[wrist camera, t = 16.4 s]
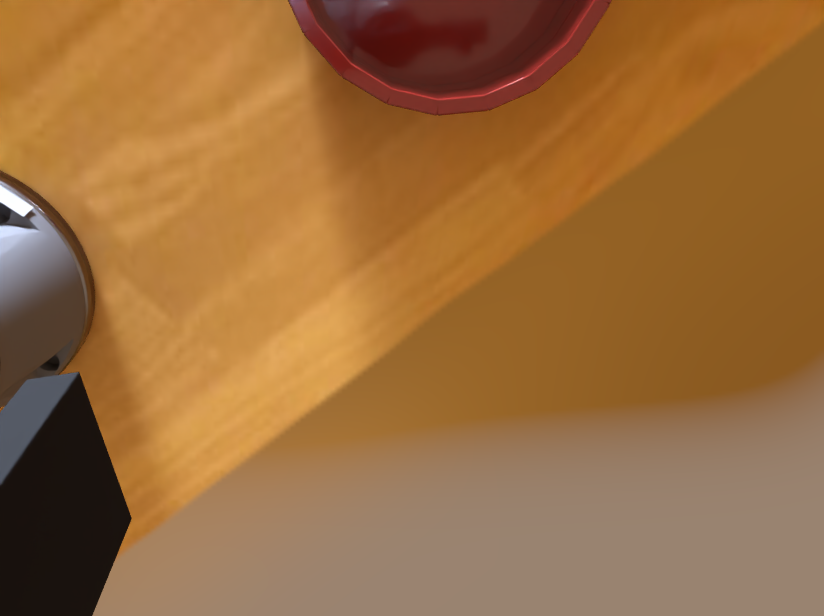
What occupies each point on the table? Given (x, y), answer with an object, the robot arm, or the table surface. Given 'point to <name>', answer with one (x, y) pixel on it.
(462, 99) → the casserole
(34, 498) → the robot arm
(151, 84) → the table surface
